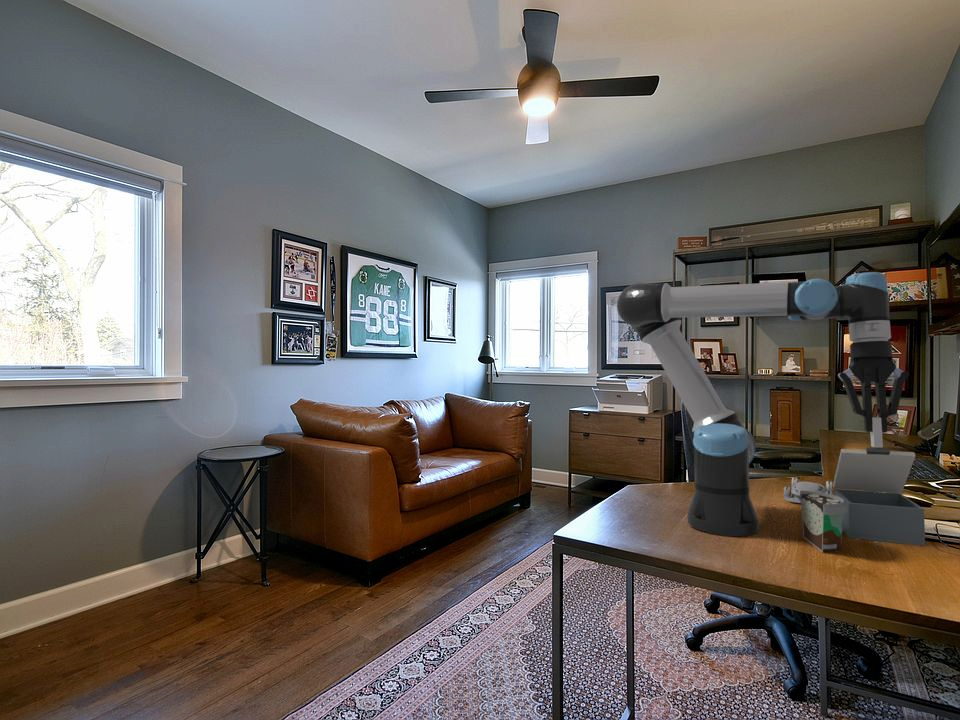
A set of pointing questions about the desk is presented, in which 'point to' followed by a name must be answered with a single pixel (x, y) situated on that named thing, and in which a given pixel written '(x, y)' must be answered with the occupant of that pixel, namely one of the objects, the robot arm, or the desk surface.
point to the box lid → (873, 470)
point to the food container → (822, 520)
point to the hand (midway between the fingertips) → (877, 446)
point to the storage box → (882, 517)
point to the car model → (804, 489)
